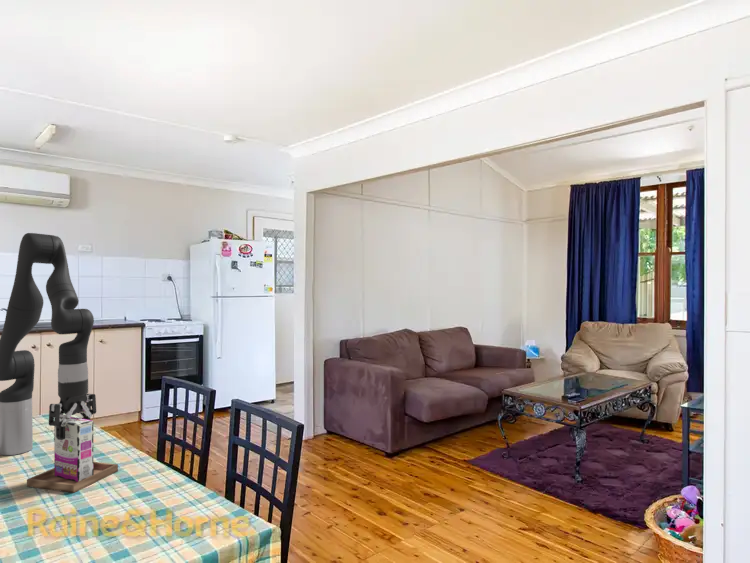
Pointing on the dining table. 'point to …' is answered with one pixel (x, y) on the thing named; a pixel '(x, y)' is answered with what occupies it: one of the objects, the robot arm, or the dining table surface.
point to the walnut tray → (60, 484)
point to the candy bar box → (74, 450)
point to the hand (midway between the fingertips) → (73, 434)
